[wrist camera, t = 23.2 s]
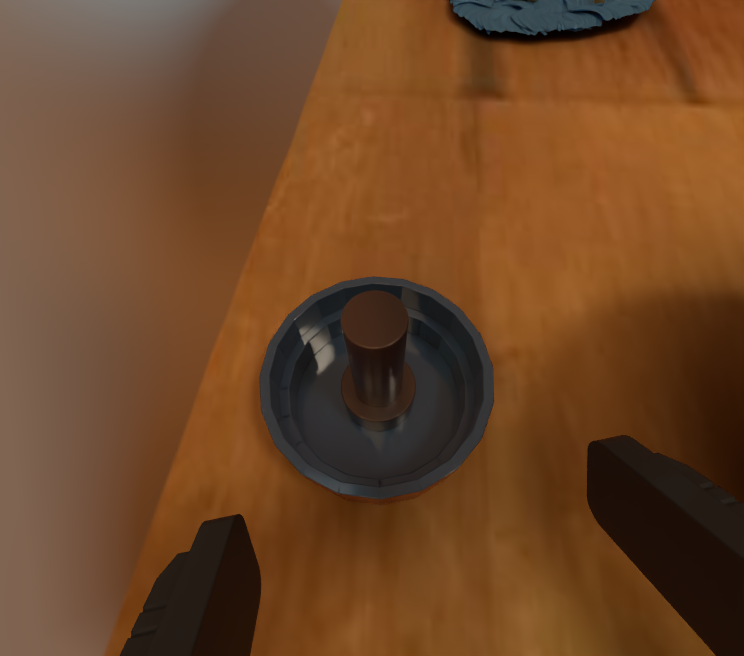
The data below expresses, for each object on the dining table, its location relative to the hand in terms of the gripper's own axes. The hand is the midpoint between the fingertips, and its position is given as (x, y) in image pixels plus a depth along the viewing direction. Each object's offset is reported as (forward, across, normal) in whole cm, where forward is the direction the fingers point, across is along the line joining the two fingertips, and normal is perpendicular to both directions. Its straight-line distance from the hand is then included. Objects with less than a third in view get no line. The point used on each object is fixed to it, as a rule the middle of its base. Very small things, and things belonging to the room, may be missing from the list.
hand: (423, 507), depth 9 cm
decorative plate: (+56, -35, -33) cm, 74 cm away
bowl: (+17, 0, +6) cm, 18 cm away
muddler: (+17, 0, +6) cm, 18 cm away
